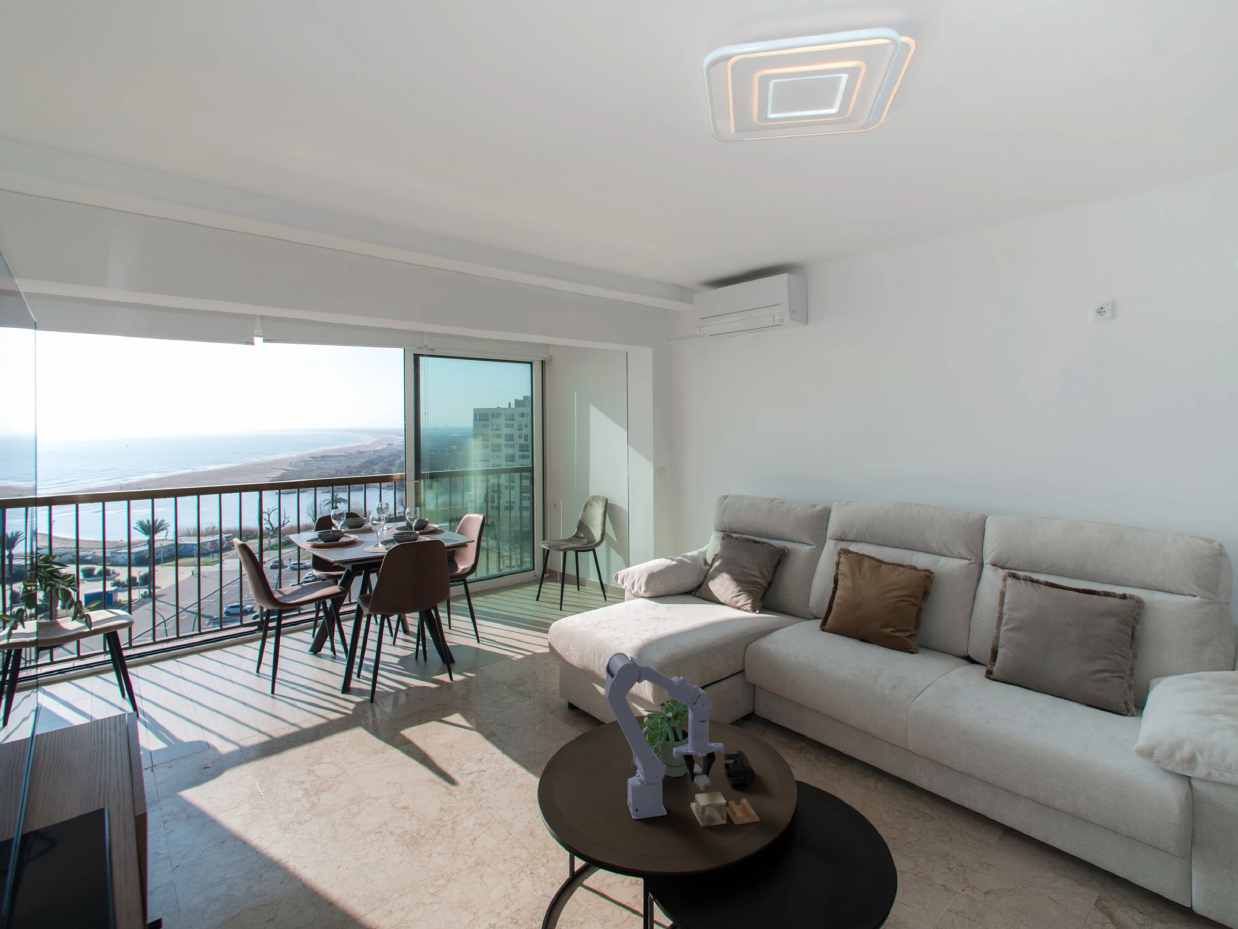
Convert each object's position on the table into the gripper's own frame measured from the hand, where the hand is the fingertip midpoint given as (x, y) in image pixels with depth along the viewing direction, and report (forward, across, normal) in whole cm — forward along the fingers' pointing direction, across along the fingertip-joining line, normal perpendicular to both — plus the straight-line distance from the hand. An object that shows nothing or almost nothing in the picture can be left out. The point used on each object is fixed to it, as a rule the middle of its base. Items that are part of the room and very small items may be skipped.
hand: (698, 778), depth 170 cm
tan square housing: (+6, 0, -8) cm, 10 cm away
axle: (-1, 0, 0) cm, 1 cm away
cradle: (+6, +9, -10) cm, 14 cm away
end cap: (+6, +15, +6) cm, 18 cm away
